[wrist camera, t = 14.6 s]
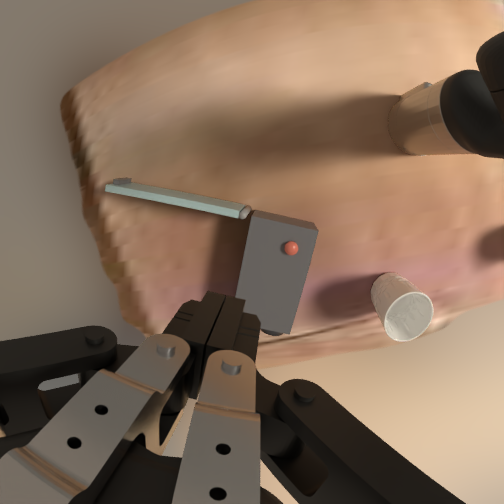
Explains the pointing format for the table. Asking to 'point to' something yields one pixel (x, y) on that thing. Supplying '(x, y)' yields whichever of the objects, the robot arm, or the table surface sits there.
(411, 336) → the white cup
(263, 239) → the camera housing
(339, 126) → the table surface
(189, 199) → the side door
